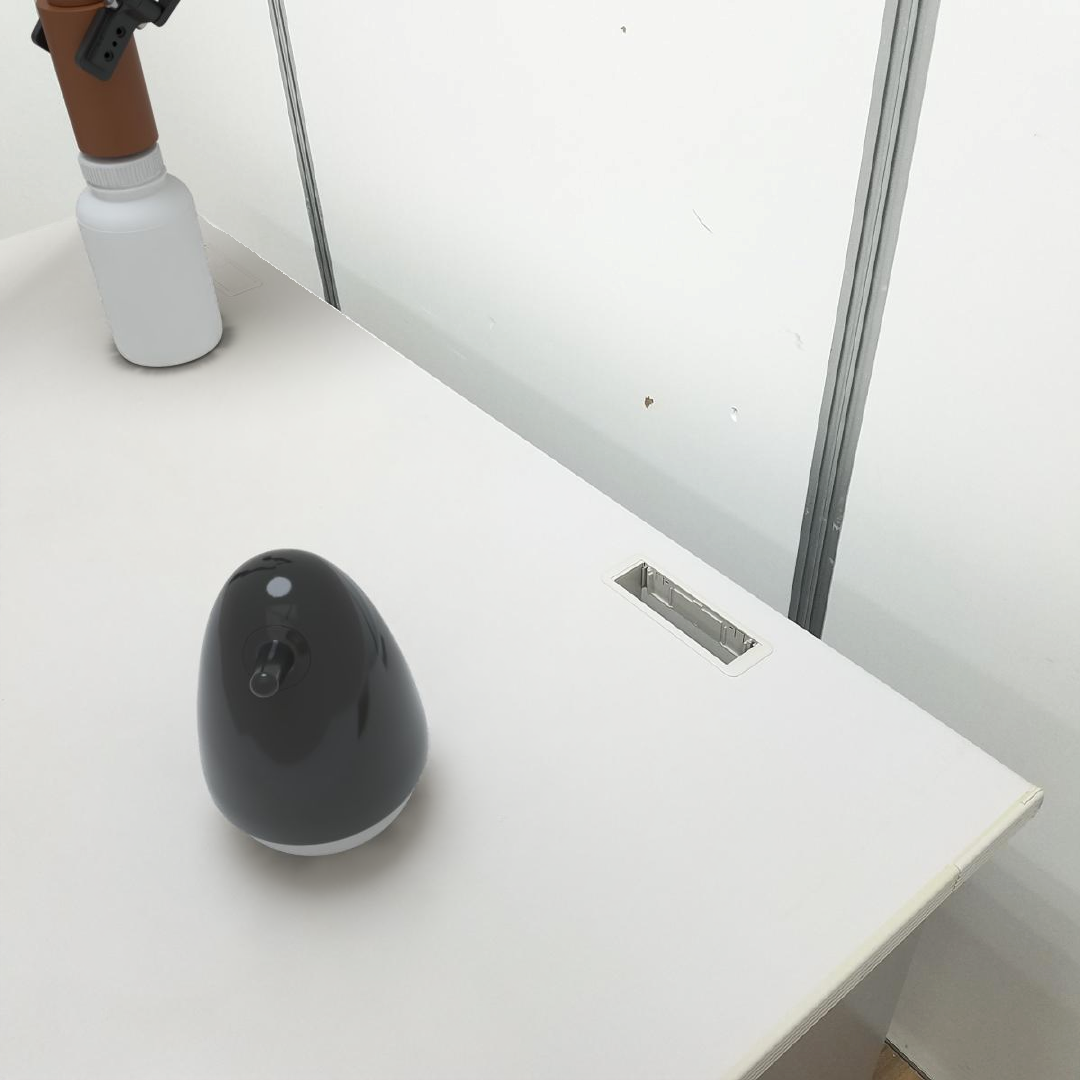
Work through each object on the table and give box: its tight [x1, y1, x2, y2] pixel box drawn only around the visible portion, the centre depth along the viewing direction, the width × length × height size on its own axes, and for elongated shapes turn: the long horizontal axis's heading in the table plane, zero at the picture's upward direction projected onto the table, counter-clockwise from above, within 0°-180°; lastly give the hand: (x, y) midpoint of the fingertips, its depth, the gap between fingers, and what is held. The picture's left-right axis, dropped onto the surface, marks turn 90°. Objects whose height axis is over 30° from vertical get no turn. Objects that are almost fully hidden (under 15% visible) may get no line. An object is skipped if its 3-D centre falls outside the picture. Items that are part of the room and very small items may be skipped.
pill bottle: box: [75, 141, 223, 368], centre depth 81 cm, size 8×8×15 cm
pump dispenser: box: [196, 548, 430, 857], centre depth 50 cm, size 10×10×15 cm
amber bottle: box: [35, 0, 160, 157], centre depth 72 cm, size 5×5×12 cm
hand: (68, 60), depth 71 cm, fingers closed on amber bottle, 5 cm apart
